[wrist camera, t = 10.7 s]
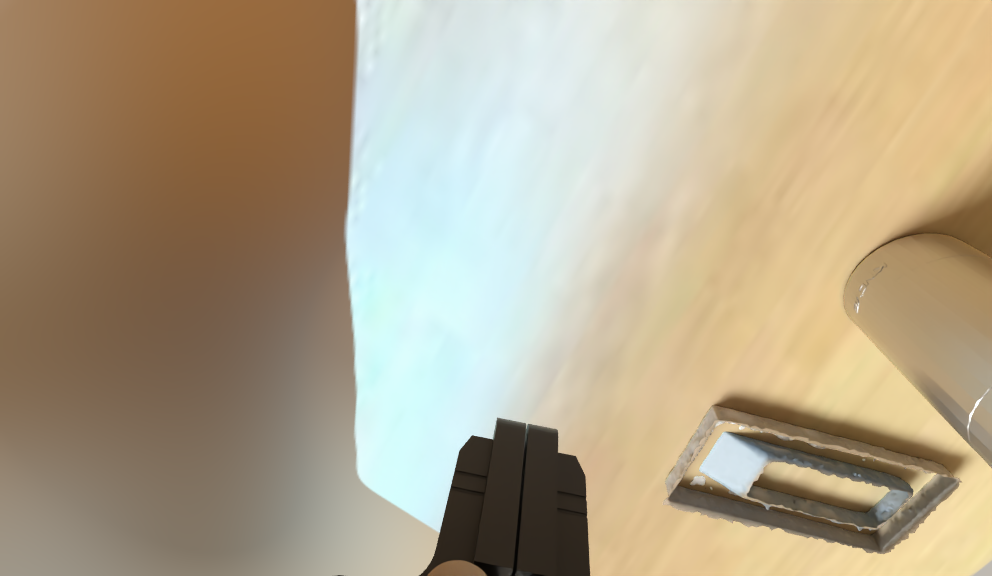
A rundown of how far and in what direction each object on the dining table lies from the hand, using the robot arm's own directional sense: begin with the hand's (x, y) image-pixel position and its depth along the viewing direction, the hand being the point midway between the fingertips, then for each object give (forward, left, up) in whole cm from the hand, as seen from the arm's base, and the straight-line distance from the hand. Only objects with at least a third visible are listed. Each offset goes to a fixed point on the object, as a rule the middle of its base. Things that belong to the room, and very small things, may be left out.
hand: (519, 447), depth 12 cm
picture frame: (-32, +28, -30) cm, 51 cm away
